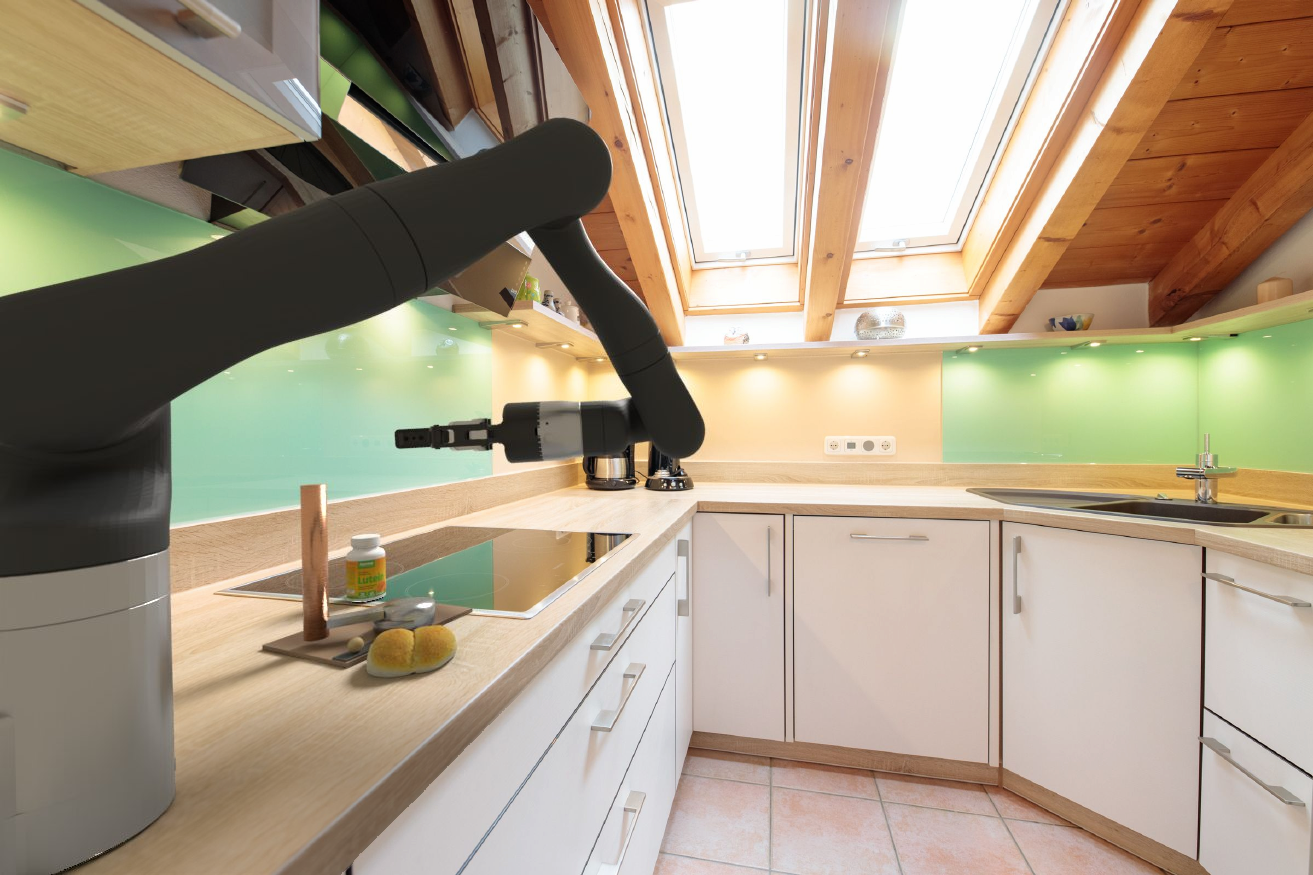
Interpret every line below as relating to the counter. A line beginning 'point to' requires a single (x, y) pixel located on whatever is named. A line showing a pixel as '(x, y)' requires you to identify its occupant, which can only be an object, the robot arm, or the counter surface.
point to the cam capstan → (317, 581)
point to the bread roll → (410, 651)
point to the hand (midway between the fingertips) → (408, 438)
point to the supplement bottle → (365, 569)
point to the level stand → (350, 639)
